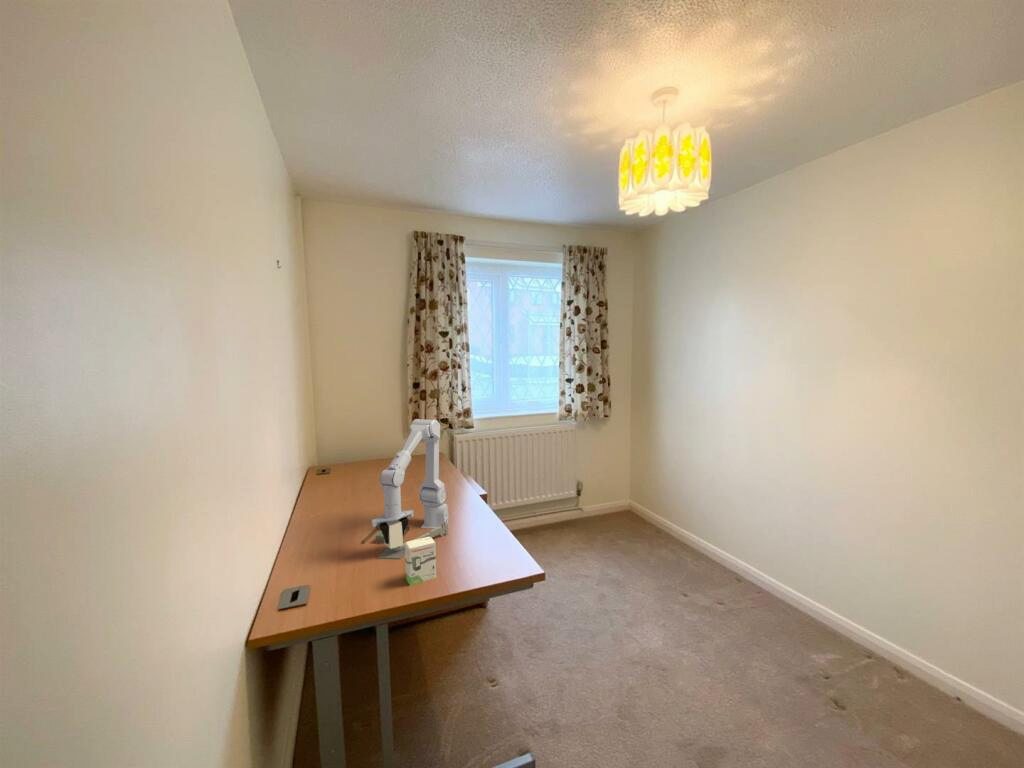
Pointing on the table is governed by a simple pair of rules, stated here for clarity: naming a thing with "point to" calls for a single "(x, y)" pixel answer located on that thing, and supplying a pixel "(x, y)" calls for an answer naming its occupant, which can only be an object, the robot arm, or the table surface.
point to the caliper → (430, 534)
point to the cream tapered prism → (395, 534)
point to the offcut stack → (379, 538)
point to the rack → (380, 529)
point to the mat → (392, 553)
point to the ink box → (420, 560)
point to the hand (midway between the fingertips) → (393, 540)
